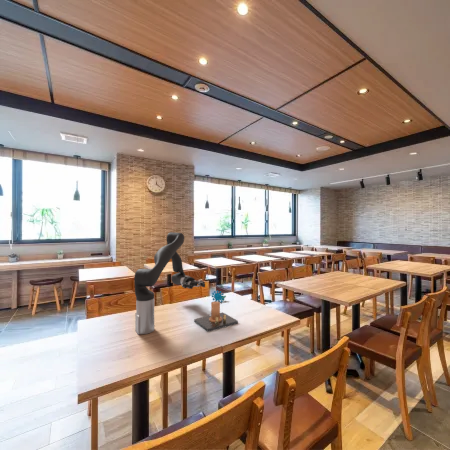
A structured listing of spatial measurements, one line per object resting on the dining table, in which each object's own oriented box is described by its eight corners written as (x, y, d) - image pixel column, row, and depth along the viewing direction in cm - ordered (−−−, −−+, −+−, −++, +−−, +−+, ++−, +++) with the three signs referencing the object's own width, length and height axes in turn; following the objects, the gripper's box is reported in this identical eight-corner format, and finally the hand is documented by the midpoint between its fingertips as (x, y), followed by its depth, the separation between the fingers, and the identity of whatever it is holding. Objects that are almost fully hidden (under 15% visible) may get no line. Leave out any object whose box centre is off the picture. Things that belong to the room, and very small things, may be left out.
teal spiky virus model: (212, 301, 173) (211, 289, 180) (210, 305, 177) (209, 293, 184) (227, 302, 176) (225, 290, 183) (224, 306, 180) (223, 294, 187)
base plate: (207, 331, 128) (207, 321, 128) (194, 321, 142) (194, 312, 142) (237, 323, 139) (237, 313, 139) (222, 314, 153) (222, 306, 153)
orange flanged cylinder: (213, 323, 135) (213, 305, 135) (206, 319, 142) (206, 302, 142) (224, 320, 140) (224, 303, 140) (217, 316, 146) (217, 299, 146)
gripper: (177, 277, 161) (187, 281, 147) (197, 275, 169) (208, 279, 155) (177, 288, 161) (187, 294, 147) (197, 286, 168) (208, 290, 155)
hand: (198, 286), depth 151 cm, fingers open, 8 cm apart
